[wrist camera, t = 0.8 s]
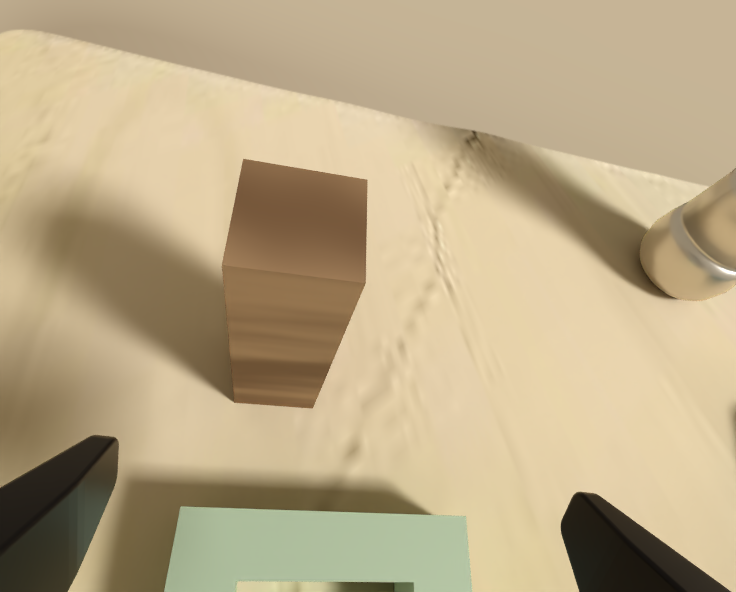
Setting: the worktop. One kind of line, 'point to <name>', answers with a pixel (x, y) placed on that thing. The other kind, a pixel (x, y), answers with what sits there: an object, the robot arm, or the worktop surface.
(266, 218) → the brown square peg
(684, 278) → the plastic bottle
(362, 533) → the green square hole base
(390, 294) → the worktop surface
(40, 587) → the robot arm
